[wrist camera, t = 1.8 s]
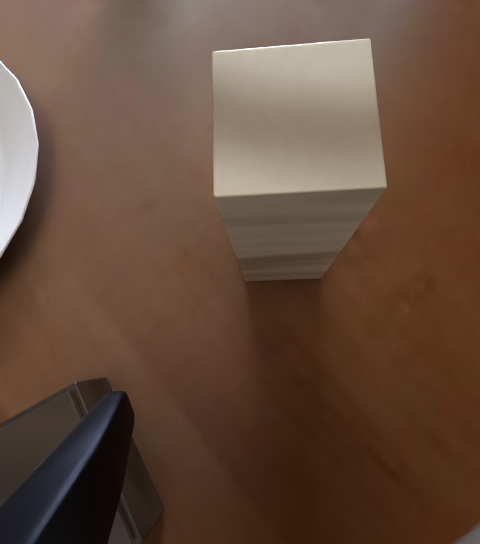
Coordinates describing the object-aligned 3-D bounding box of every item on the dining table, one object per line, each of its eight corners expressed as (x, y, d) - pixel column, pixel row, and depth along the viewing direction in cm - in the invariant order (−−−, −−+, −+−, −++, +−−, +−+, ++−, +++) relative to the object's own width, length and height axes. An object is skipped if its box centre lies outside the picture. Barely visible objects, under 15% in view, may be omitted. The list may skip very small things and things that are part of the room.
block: (321, 278, 23) (387, 187, 10) (244, 281, 23) (213, 197, 10) (316, 205, 24) (371, 37, 11) (242, 209, 24) (211, 50, 11)
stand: (164, 510, 21) (140, 547, 17) (34, 584, 21) (-22, 639, 17) (106, 376, 22) (71, 382, 19) (-15, 443, 22) (-76, 463, 18)
